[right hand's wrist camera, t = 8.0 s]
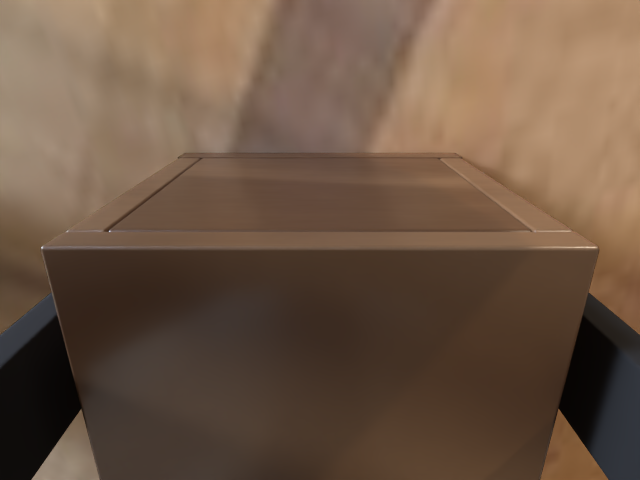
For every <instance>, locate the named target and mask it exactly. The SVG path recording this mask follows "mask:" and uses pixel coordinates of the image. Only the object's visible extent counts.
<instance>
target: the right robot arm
mask: <svg viewBox="0 0 640 480" xmlns="http://www.w3.org/2000/svg"><path fill="white" fill-rule="evenodd" d="M80 410H81V404H80V400H79V397H78V393H77V389H76V385H75V381H74V377H73V373H72V369H71V366H70V362H69V358H68V354H67V350H66V346H65V342H64V338H63V335H62V331H61V327H60V323H59V319H58V315H57V311H56V307H55V304H54V300H53V296H52V292H51V293H50V294H49V295H48V296H47V297H45V298H44V299H43V300H42V301H41V302H39V303H38V304H37V305H36V306H35V307H33V308H32V309H31V310H30V311H29V312H27V313H26V314H25V315H24V316H23V317H21V318H20V319H19V320H18V321H16V322H15V323H14V324H13V325H12V326H10V327H9V328H8V329H7V330H6V331H4V332H3V333H2V334H1V335H0V480H31V479H32V478H33V476H34V475H35V474H36V472H37V471H38V469H39V468H40V466H41V465H42V464H43V462H44V461H45V459H46V458H47V457H48V455H49V454H50V452H51V451H52V449H53V448H54V447H55V445H56V444H57V442H58V441H59V439H60V438H61V437H62V435H63V434H64V432H65V431H66V429H67V428H68V427H69V425H70V424H71V422H72V421H73V420H74V418H75V417H76V415H77V414H78V412H79V411H80ZM559 410H560V411H561V412H562V414H563V415H564V417H565V418H566V419H567V421H568V422H569V424H570V425H571V427H572V428H573V429H574V431H575V432H576V434H577V435H578V437H579V438H580V439H581V441H582V442H583V444H584V445H585V447H586V448H587V449H588V451H589V452H590V454H591V455H592V456H593V458H594V459H595V461H596V462H597V464H598V465H599V466H600V468H601V469H602V471H603V472H604V474H605V475H606V476H607V478H608V479H609V480H640V335H639V334H638V333H637V332H636V331H634V330H633V329H632V328H631V327H630V326H628V325H627V324H626V323H625V322H624V321H622V320H621V319H620V318H619V317H618V316H616V315H615V314H614V313H613V312H612V311H610V310H609V309H608V308H607V307H606V306H604V305H603V304H602V303H601V302H599V301H598V300H597V299H596V298H595V297H593V296H592V295H591V294H590V293H589V292H588V296H587V300H586V304H585V307H584V311H583V315H582V319H581V323H580V327H579V331H578V335H577V338H576V342H575V346H574V350H573V354H572V358H571V362H570V366H569V369H568V373H567V377H566V381H565V385H564V389H563V393H562V397H561V400H560V404H559Z"/></svg>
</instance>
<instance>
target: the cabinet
mask: <svg viewBox="0 0 640 480" xmlns="http://www.w3.org/2000/svg"><path fill="white" fill-rule="evenodd" d="M41 253H42V257H43V261H44V265H45V269H46V273H47V276H48V280H49V284H50V288H51V292H52V296H53V300H54V304H55V307H56V311H57V315H58V319H59V323H60V327H61V331H62V335H63V338H64V342H65V346H66V350H67V354H68V358H69V362H70V366H71V369H72V373H73V377H74V381H75V385H76V389H77V393H78V397H79V400H80V404H81V408H82V412H83V416H84V420H85V424H86V428H87V431H88V435H89V439H90V443H91V447H92V451H93V455H94V458H95V462H96V466H97V470H98V474H99V478H100V480H540V478H541V474H542V470H543V466H544V462H545V459H546V455H547V451H548V447H549V443H550V439H551V435H552V431H553V428H554V424H555V420H556V416H557V412H558V408H559V404H560V400H561V397H562V393H563V389H564V385H565V381H566V377H567V373H568V369H569V366H570V362H571V358H572V354H573V350H574V346H575V342H576V338H577V335H578V331H579V327H580V323H581V319H582V315H583V311H584V307H585V304H586V300H587V296H588V292H589V288H590V284H591V280H592V277H593V273H594V269H595V265H596V261H597V257H598V253H599V247H598V246H597V245H595V244H594V243H592V242H591V241H589V240H588V239H586V238H585V237H583V236H581V235H580V234H578V233H576V232H573V230H572V229H570V228H569V227H567V226H565V225H564V224H562V223H561V222H559V221H558V220H556V219H555V218H553V217H552V216H550V215H548V214H547V213H545V212H544V211H542V210H541V209H539V208H538V207H536V206H534V205H533V204H531V203H530V202H528V201H527V200H525V199H524V198H522V197H520V196H519V195H517V194H516V193H514V192H513V191H511V190H510V189H508V188H506V187H505V186H503V185H502V184H500V183H499V182H497V181H496V180H494V179H492V178H491V177H489V176H488V175H486V174H485V173H483V172H482V171H480V170H478V169H477V168H475V167H474V166H472V165H471V164H469V163H468V162H466V161H464V160H463V159H462V157H461V156H459V155H458V154H456V153H184V154H183V155H181V156H179V157H178V159H177V160H175V161H174V162H172V163H171V164H169V165H168V166H166V167H165V168H163V169H161V170H160V171H158V172H157V173H155V174H154V175H152V176H151V177H149V178H147V179H146V180H144V181H143V182H141V183H140V184H138V185H136V186H135V187H133V188H132V189H130V190H129V191H127V192H126V193H124V194H122V195H121V196H119V197H118V198H116V199H115V200H113V201H112V202H110V203H108V204H107V205H105V206H104V207H102V208H101V209H99V210H98V211H96V212H94V213H93V214H91V215H90V216H88V217H87V218H85V219H84V220H82V221H80V222H79V223H77V224H76V225H74V226H73V227H71V228H69V229H68V230H67V231H66V232H64V233H62V234H60V235H58V236H57V237H55V238H54V239H52V240H51V241H49V242H48V243H46V244H44V245H43V246H42V247H41Z"/></svg>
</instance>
